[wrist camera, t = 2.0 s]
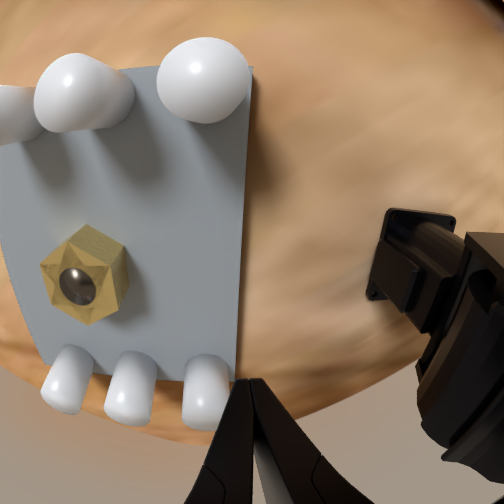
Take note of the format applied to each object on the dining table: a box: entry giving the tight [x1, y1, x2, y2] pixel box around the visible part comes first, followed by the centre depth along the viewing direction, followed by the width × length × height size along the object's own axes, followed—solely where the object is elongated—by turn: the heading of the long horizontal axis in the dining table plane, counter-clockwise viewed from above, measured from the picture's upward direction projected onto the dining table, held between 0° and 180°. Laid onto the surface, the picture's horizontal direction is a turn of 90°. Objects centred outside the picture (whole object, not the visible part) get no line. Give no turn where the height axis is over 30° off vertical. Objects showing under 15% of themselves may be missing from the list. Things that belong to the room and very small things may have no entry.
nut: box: [40, 224, 130, 326], centre depth 13 cm, size 4×5×2 cm
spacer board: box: [0, 37, 253, 431], centre depth 13 cm, size 16×20×5 cm
